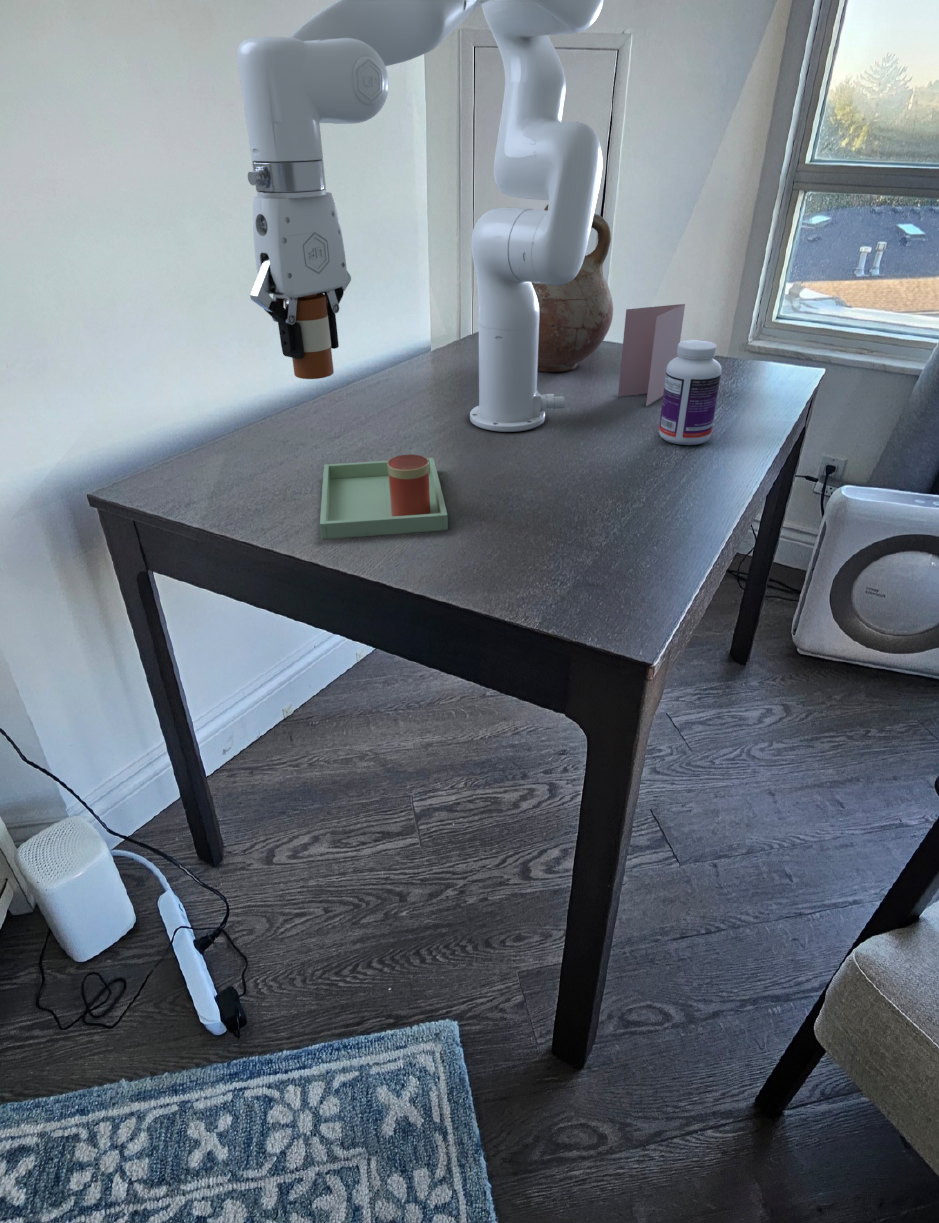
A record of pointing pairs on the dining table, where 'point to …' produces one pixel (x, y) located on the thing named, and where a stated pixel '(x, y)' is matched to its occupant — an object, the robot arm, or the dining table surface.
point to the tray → (372, 502)
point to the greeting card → (649, 349)
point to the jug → (575, 310)
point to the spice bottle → (313, 338)
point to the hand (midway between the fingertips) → (311, 350)
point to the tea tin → (409, 485)
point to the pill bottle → (690, 394)
